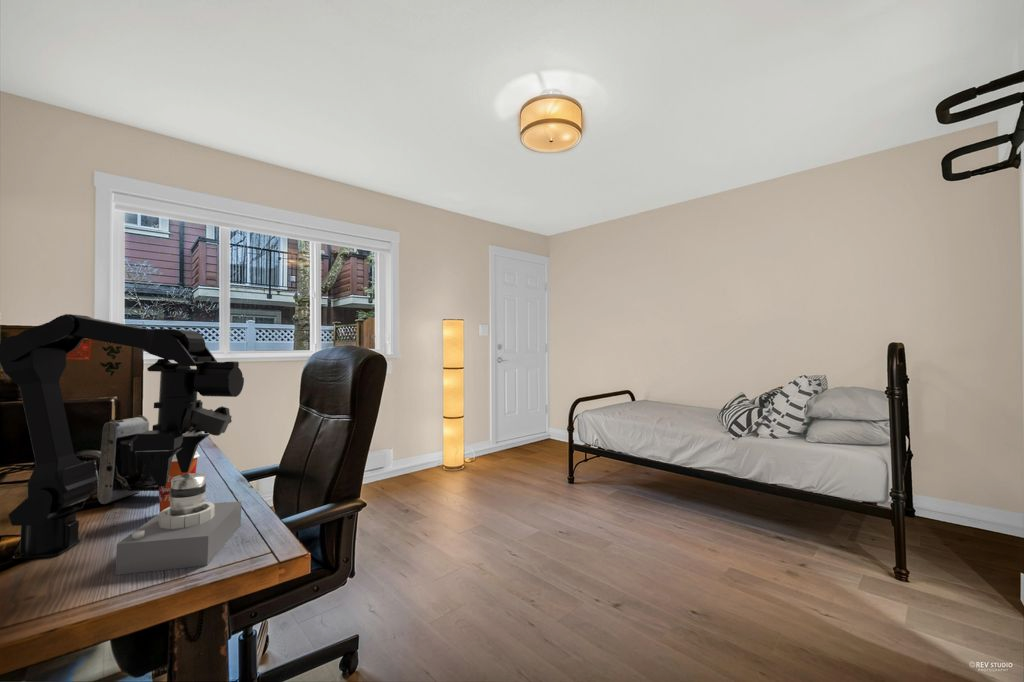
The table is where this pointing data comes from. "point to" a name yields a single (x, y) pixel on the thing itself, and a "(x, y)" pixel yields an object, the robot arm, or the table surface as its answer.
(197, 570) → the table surface
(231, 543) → the table surface
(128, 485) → the vintage camera
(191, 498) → the lens
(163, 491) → the paper cup
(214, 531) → the camera body
